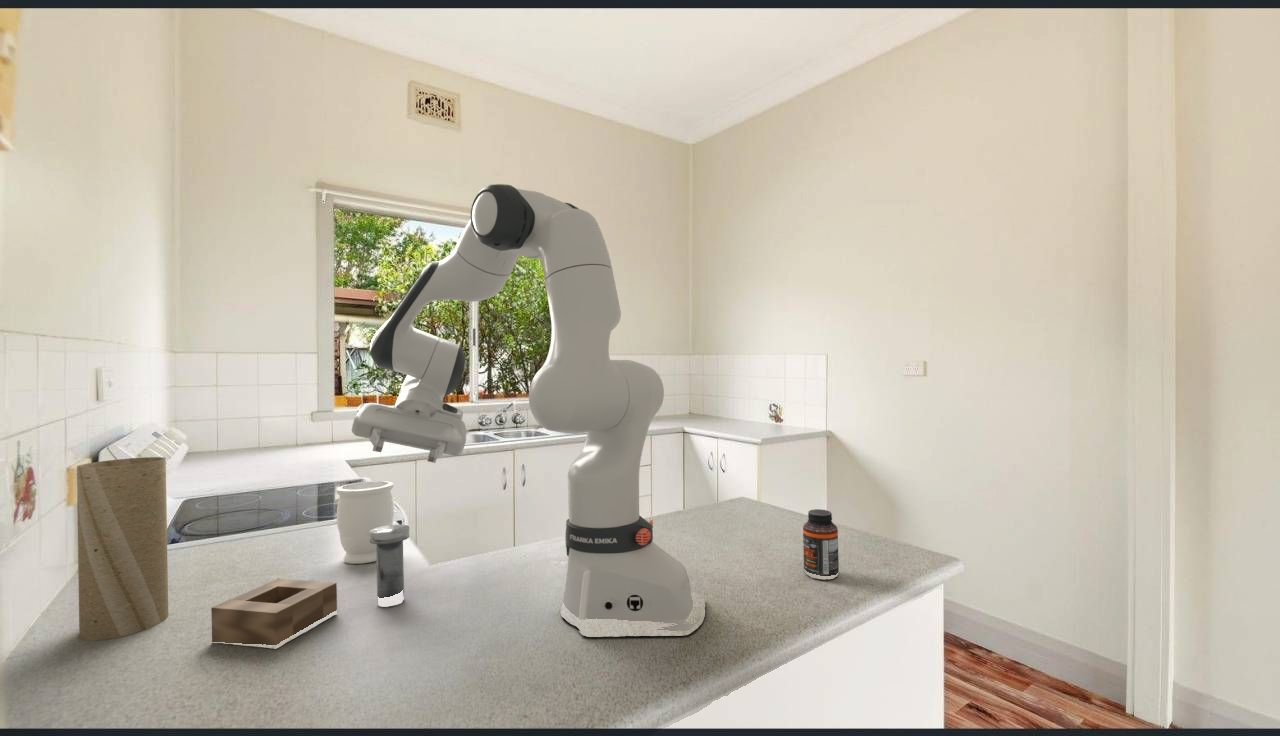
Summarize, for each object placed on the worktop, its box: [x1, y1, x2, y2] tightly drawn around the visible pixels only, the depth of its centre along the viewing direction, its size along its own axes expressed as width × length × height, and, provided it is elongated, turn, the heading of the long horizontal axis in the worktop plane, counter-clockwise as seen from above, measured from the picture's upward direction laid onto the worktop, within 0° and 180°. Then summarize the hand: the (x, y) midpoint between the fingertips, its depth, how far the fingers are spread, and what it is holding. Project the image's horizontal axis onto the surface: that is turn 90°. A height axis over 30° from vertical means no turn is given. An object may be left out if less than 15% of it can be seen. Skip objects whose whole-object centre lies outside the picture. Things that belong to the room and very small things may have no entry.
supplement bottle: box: [802, 508, 840, 576], centre depth 98 cm, size 6×6×11 cm
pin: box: [369, 524, 410, 598], centre depth 90 cm, size 6×6×12 cm
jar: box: [336, 480, 395, 565], centre depth 113 cm, size 11×10×15 cm
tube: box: [76, 456, 169, 642], centre depth 84 cm, size 10×10×25 cm
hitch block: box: [210, 578, 338, 645], centre depth 82 cm, size 11×11×5 cm
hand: (405, 454), depth 99 cm, fingers open, 8 cm apart
